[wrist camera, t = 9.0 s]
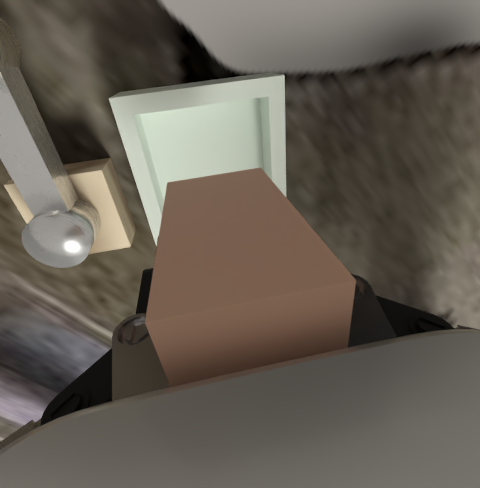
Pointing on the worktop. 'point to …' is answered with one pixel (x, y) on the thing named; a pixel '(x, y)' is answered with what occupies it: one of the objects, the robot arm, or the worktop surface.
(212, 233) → the block
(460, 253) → the worktop surface
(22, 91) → the crank
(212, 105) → the tray
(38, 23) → the worktop surface
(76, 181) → the crank base
